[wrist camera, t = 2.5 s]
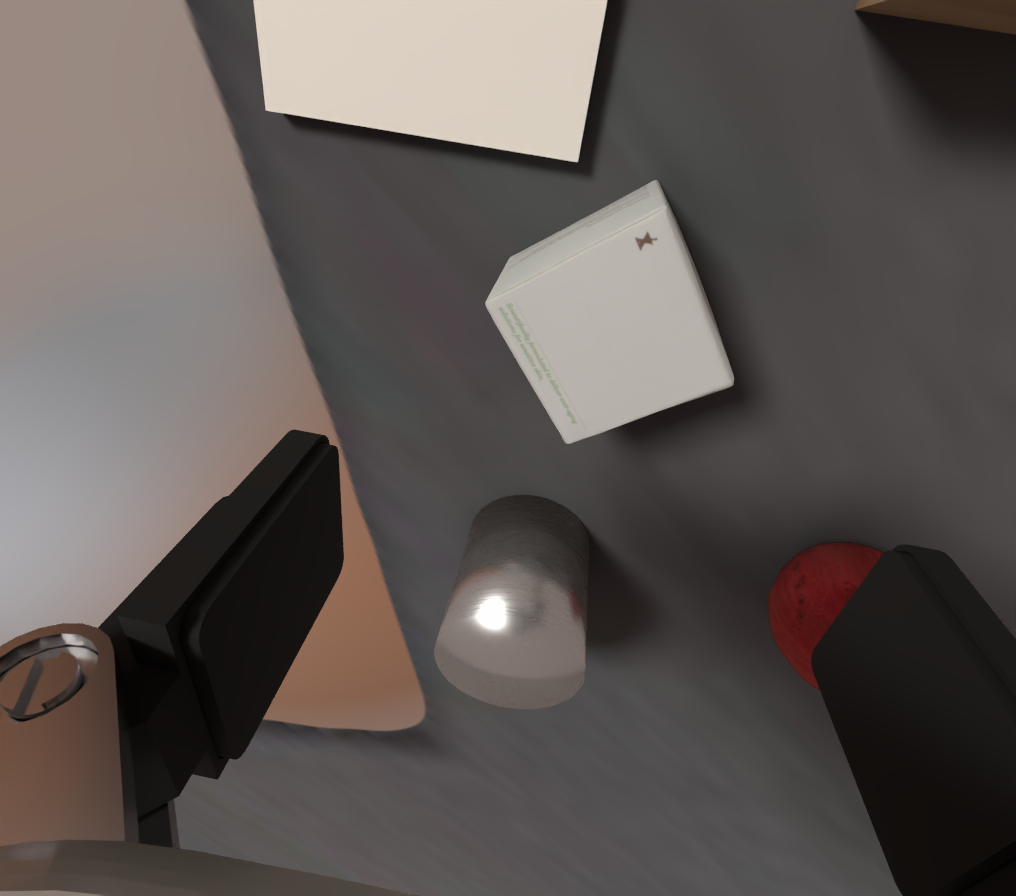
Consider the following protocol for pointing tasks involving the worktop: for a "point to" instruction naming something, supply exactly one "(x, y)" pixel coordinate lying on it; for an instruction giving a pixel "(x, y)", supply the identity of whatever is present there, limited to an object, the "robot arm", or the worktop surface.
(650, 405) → the small box
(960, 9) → the walnut block
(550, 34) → the plate
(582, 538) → the tin
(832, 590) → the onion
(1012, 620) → the worktop surface
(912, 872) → the robot arm
